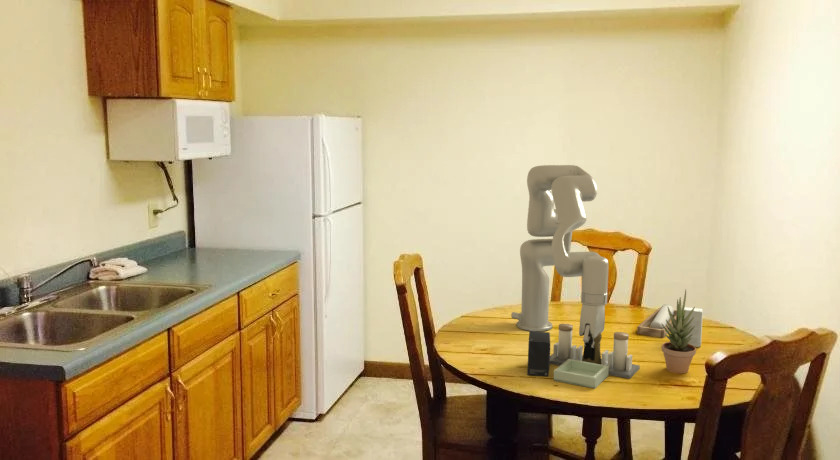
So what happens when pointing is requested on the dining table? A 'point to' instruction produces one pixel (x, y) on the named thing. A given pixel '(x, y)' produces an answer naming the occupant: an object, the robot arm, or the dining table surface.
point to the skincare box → (698, 326)
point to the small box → (538, 353)
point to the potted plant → (678, 341)
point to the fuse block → (615, 360)
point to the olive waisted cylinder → (597, 351)
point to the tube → (662, 317)
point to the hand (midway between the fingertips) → (591, 356)
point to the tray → (581, 373)
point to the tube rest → (646, 330)
